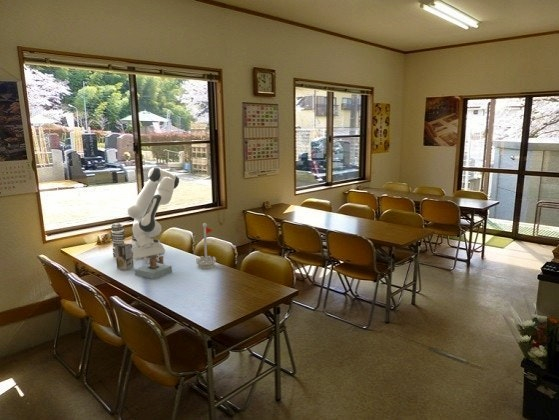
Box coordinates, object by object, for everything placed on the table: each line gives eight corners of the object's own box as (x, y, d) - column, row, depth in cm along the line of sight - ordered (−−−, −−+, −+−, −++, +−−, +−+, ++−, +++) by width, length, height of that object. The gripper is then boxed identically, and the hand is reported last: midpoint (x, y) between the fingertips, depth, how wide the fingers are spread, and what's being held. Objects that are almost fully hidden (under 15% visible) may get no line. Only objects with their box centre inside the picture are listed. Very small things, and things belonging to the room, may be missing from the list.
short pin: (156, 266, 273) (155, 257, 271) (160, 264, 276) (159, 255, 275) (160, 267, 271) (160, 257, 270) (164, 265, 274) (164, 256, 273)
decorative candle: (123, 259, 288) (120, 225, 283) (110, 259, 288) (107, 225, 283) (128, 255, 297) (125, 222, 292) (115, 255, 297) (113, 222, 292)
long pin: (149, 273, 258) (148, 257, 256) (153, 271, 262) (153, 255, 260) (153, 274, 256) (152, 258, 254) (158, 272, 260) (157, 256, 258)
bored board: (135, 275, 256) (134, 269, 255) (153, 267, 270) (153, 262, 269) (153, 279, 248) (153, 273, 248) (172, 271, 262) (171, 265, 261)
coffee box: (134, 267, 271) (132, 244, 268) (126, 270, 265) (125, 246, 262) (123, 265, 275) (122, 242, 271) (116, 268, 269) (114, 244, 266)
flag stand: (197, 270, 265) (195, 225, 259) (195, 264, 277) (194, 221, 271) (217, 268, 268) (215, 224, 262) (214, 262, 280) (213, 220, 275)
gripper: (131, 245, 253) (139, 263, 248) (161, 239, 267) (169, 256, 262) (128, 250, 257) (136, 268, 252) (158, 244, 271) (166, 261, 266)
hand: (153, 262), depth 257 cm, fingers open, 5 cm apart
